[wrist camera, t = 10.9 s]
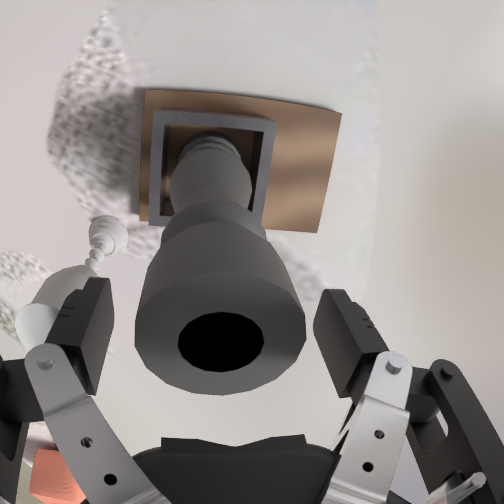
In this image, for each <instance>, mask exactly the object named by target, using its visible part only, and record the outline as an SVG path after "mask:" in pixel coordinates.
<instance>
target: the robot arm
mask: <svg viewBox="0 0 504 504" xmlns="http://www.w3.org/2000/svg"><path fill="white" fill-rule="evenodd" d="M113 326H114V307H113V300H112V292H111V283H110V279H109V278H101V277H89V278H88V280H87V282H86V284H85V286H84V288H83V290H81V289H75V290H74V291H73V292H72V293H71V294H69V295H68V296H67V297H66V299H65V301H64V303H63V305H62V308H61V309H60V311H59V313H58V316H57V317H56V319H55V321H54V323H53V325H52V327H51V329H50V331H49V333H48V336H47V338H46V340H45V342H44V344H40V345H37V346H35V347H34V348H32V349H31V350H30V351H29V352H28V353H27V355H26V357H25V358H24V359H17V360H8V361H3V359H2V357H1V355H0V504H15V502H16V494H17V486H18V479H19V474H20V467H21V462H22V457H23V451H24V446H25V442H26V437H27V433H28V428H29V424H30V422H38V421H45V422H46V425H47V427H48V429H49V431H50V433H51V435H52V437H53V439H54V441H55V443H56V445H57V447H58V449H59V451H60V453H61V455H62V457H63V459H64V461H65V463H66V464H67V466H68V468H69V470H70V472H71V473H72V475H73V477H74V479H75V480H76V482H77V484H78V485H79V487H80V489H81V490H82V492H83V493H84V495H85V497H86V498H85V499H84V500H83V501H82V502H81V503H80V504H411V503H409V502H408V501H406V500H405V499H403V498H402V497H400V496H398V495H397V494H395V493H394V492H392V491H391V490H389V489H390V486H391V483H392V480H393V477H394V473H395V470H396V467H397V463H398V460H399V456H400V453H401V449H402V445H403V441H404V437H405V434H406V436H407V439H408V441H409V444H410V446H411V449H412V451H413V454H414V456H415V458H416V461H417V464H418V467H419V469H420V472H421V475H422V477H423V480H424V482H425V485H426V488H427V491H428V493H429V498H428V500H427V504H504V445H503V444H502V442H501V440H500V438H499V436H498V434H497V432H496V430H495V429H494V427H493V425H492V423H491V421H490V420H489V418H488V416H487V414H486V412H485V411H484V409H483V407H482V406H481V404H480V402H479V400H478V399H477V397H476V395H475V394H474V392H473V390H472V389H471V387H470V386H469V384H468V382H467V381H466V379H465V377H464V376H463V374H462V372H461V371H460V369H459V368H458V367H457V366H456V365H455V364H453V363H452V362H450V361H447V360H444V359H439V360H436V361H434V362H433V363H432V365H431V367H430V368H429V369H424V368H416V367H412V366H411V363H410V362H409V361H408V359H406V358H405V357H404V356H403V355H401V354H398V353H396V352H392V351H390V350H389V349H388V347H387V346H386V344H385V342H384V340H383V339H382V337H381V335H380V334H379V332H378V331H377V329H376V328H375V327H374V324H373V322H372V321H371V320H370V318H369V316H368V314H367V313H366V311H365V310H364V309H363V308H362V307H361V306H359V305H358V304H357V303H356V302H352V301H351V300H350V298H349V296H348V295H347V293H346V291H345V290H343V289H325V290H324V291H323V292H322V295H321V299H320V302H319V305H318V308H317V312H316V315H315V318H314V322H313V331H314V336H315V338H316V341H317V343H318V346H319V348H320V350H321V353H322V356H323V358H324V361H325V363H326V366H327V368H328V371H329V373H330V376H331V378H332V381H333V383H334V386H335V388H336V391H337V393H338V396H339V398H347V397H351V399H352V403H351V405H350V406H349V409H348V411H347V413H346V416H345V418H344V420H343V423H342V425H341V427H340V430H339V432H338V434H337V436H336V438H335V440H334V442H333V444H332V446H331V448H330V449H327V448H324V447H321V446H318V445H313V444H307V443H306V439H305V435H304V434H302V435H293V436H280V437H270V438H267V439H264V440H260V441H256V442H253V443H250V444H245V445H242V446H238V447H233V446H228V445H222V444H217V443H213V442H208V441H204V440H199V439H180V438H161V447H157V448H152V449H148V450H145V451H143V452H140V453H138V454H136V455H134V456H132V457H131V456H130V454H129V453H128V452H127V450H126V449H125V447H124V446H123V445H122V443H121V442H120V440H119V439H118V438H117V436H116V435H115V433H114V432H113V430H112V429H111V427H110V426H109V424H108V423H107V421H106V420H105V418H104V417H103V415H102V413H101V412H100V410H99V409H98V407H97V405H96V404H95V402H94V400H93V399H92V398H91V396H88V395H95V396H96V392H97V388H98V384H99V380H100V375H101V371H102V367H103V364H104V360H105V356H106V352H107V348H108V345H109V341H110V337H111V334H112V330H113ZM87 394H88V395H87ZM439 411H441V413H442V415H443V417H444V419H445V421H446V423H447V425H448V435H447V437H446V436H445V433H444V431H443V429H442V427H441V425H440V423H439V421H438V419H437V417H436V415H437V413H438V412H439Z"/></svg>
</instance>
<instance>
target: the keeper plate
mask: <svg viewBox="0 0 504 504" xmlns="http://www.w3.org/2000/svg"><path fill="white" fill-rule="evenodd" d="M160 108H176V109H193V110H207V111H218V112H229V113H238V114H247V115H255V116H263V117H268V118H270V119H272V120H274V121H276V122H277V127H276V134H275V140H274V147H273V153H272V159H271V165H270V172H269V178H268V184H267V191H266V197H265V203H264V209H263V216H262V222H261V226H262V227H263V229H271V230H284V231H297V232H310V233H317V230H318V226H319V222H320V217H321V213H322V209H323V204H324V200H325V195H326V191H327V186H328V181H329V177H330V172H331V167H332V162H333V157H334V152H335V147H336V142H337V137H338V132H339V127H340V121H341V116H342V113H339V112H334V111H330V110H325V109H320V108H315V107H310V106H304V105H299V104H293V103H287V102H281V101H275V100H268V99H261V98H253V97H245V96H237V95H227V94H217V93H205V92H191V91H173V90H146V91H145V101H144V113H143V126H142V142H141V163H140V212H139V216H140V221H147V222H149V182H150V159H151V142H152V128H153V115H154V111H156V110H158V109H160ZM205 131H214V132H219V133H222V134H224V135H225V136H227V137H229V138H230V139H232V141H233V142H234V144H235V146H236V147H237V149H238V150H239V153H240V155H241V158H242V163H243V165H244V166H245V168H246V170H247V171H248V173H249V169H250V162H251V155H252V148H253V141H254V134H255V131H254V130H246V129H236V128H226V127H215V126H203V125H188V124H171V123H170V134H169V147H168V161H167V178H166V198H170V195H169V187H170V181H171V176H172V173H173V172H174V170H175V169H176V165H177V159H178V155H179V153H180V150H181V148H182V147H183V145H184V144H185V143H186V141H187V140H188V139H189V138H191V137H192V136H194V135H195V134H197V133H200V132H205Z"/></svg>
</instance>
